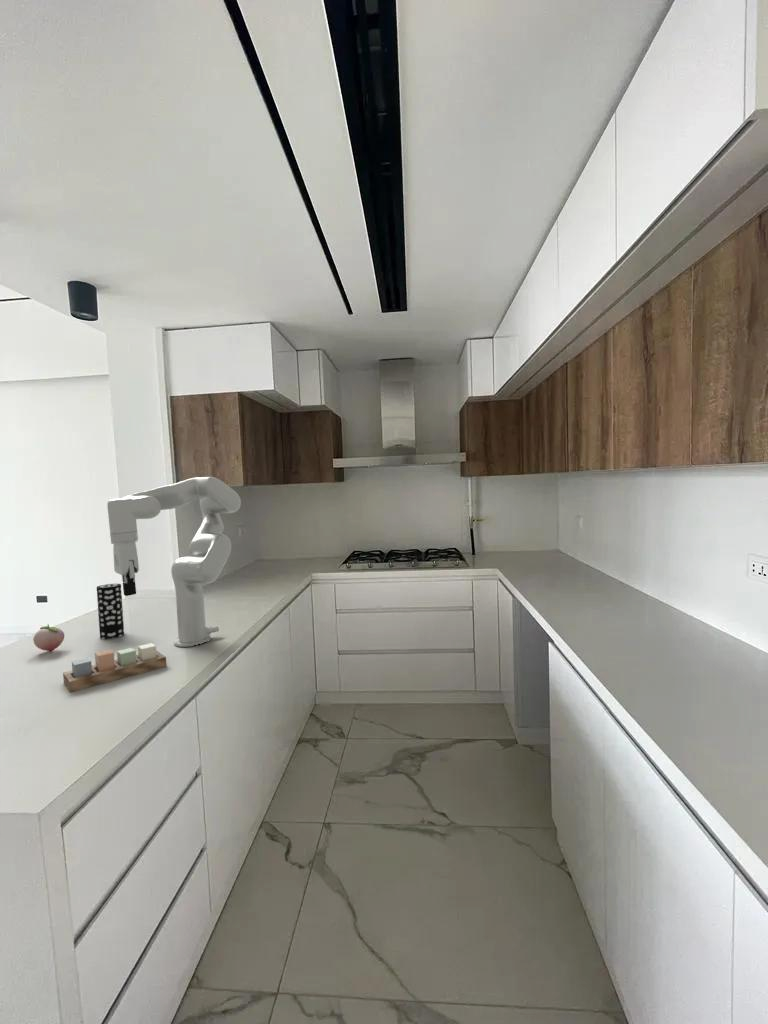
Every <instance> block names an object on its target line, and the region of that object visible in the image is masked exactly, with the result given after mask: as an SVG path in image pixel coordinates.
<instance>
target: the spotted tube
mask: <svg viewBox="0 0 768 1024" xmlns="http://www.w3.org/2000/svg"><path fill="white" fill-rule="evenodd" d="M122 593H123V592H122V583H107V584H102V585H97V586H96V600H97V611H98V613H97V614H98V627H99V639H100V638H101V640H111V639H112V638H113V639H117V638H120V637H122V636H124V635H125V626H124V625H125V624H124V623H125V622H124V610H123V609H124V608H123V597H122Z"/></svg>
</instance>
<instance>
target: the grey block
mask: <svg viewBox="0 0 768 1024" xmlns="http://www.w3.org/2000/svg"><path fill="white" fill-rule="evenodd" d="M71 669H72V670H71V671H72V673H73V678H76V677H80V676H84V675H88V674H92V660H91V659H90V658H89V657H86V658H85V657H84V658H81V659H77V660H73V661H71Z"/></svg>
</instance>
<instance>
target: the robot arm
mask: <svg viewBox="0 0 768 1024" xmlns="http://www.w3.org/2000/svg"><path fill="white" fill-rule="evenodd" d="M197 501H199V508H200V511H201V516H202V522H201V525H200V526H199V528H198V529H197V531H196V533H195V534H194V537H193V538H192V540H190V544H189V546H188V551H189V555H190V556H182V557H179V558H177V559H175V561H174V562H173V563H172V565H171V569H170V570H171V571H170V572H171V578H172V581H173V586H174V588H175V589H174V590H175V600H176V601H175V602H176V603H175V604H176V616H177V617H176V618H177V620H176V621H177V633H178V634H177V636H178V637H177V638H175V639H174V640H173V644H174V646H176V647H181V648H183V647H185V648H186V647H195V646H194V645H196V646H199V645H198V644H200V645H203V644H202V643H204V642H206V643H208V642H209V641H210V640H211V639H210V638H212V637H211V634H213V633H218V632H219V630H220V629H219V628H220V627H219V626H214V627H213V626H210V627H209V626H207V625H206V612H205V610H206V609H205V593H204V590H203V586H202V584H211V583H214V582H215V581H216V580H217V579H218V578H219V576H220V575H221V572H222V570H223V568H224V566H225V564H226V563H227V561H228V559H229V557H230V554H231V552H232V541H231V539H230V538H229V536H227V535H226V534H223V532H224V529H225V527H224V523H223V521H222V518H221V515H220V514H233V513H236V512H238V511H239V510H240V508H241V506H242V500H241V497H240V495H239V494H238V493H237V491H235V490H234V489H233V488H232V487H230V486H229V485H228V484H226V482H224V481H222V480H221V479H219V478H217V477H215V476H201V477H192V478H191V477H190V478H188V479H185V480H181V481H178V482H176V483H172V484H168V485H164V486H159V487H156V488H153V489H152V488H151V489H148V490H143V491H139V492H135V493H133V494H130V495H125V496H124V497H122V498H112V499H109V500H108V501H107V504H106V505H107V507H106V508H107V515H108V517H107V518H108V525H109V534H110V536H109V537H110V543H111V545H112V546H113V551H112V553H113V570H114V573H116V574H118V575H121V580H122V590H123V595H124V596H125V597H128V596H133V595H136V594H137V587H136V574H137V573H138V572H139V570H140V568H139V567H140V566H139V558H138V557H139V556H138V551H137V550H138V549H137V544H136V543H137V542H138V541H139V537H138V536H139V535H138V525H137V520H148V519H149V520H150V519H153V518H155V517H157V516H158V515H159V514H160V513H161V511H166V510H173V509H178V508H181V507H184V506H187V505H189V504H192V503H195V502H197ZM208 640H209V641H208ZM207 641H208V642H207ZM204 644H205V643H204Z"/></svg>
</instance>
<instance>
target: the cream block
mask: <svg viewBox="0 0 768 1024" xmlns="http://www.w3.org/2000/svg"><path fill="white" fill-rule="evenodd" d="M156 650H157V645H156V644H154V643H152V642H150V643H146V644H141V645H138V646H137V651H138V653H137V654H138V655H139V659H140V660H141V661H143V660H147V659H151V658H155V657H157V653H156Z"/></svg>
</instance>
